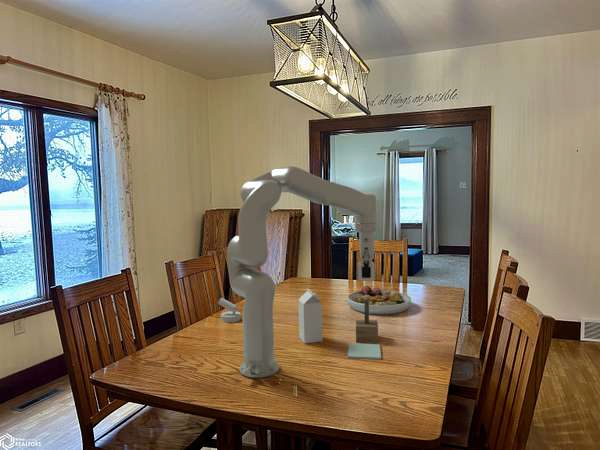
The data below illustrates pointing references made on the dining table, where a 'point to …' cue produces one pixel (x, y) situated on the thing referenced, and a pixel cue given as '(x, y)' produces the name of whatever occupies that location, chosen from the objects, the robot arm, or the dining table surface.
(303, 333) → the milk carton
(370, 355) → the mat
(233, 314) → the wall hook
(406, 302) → the bowl
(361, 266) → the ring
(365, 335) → the post
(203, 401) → the dining table surface
